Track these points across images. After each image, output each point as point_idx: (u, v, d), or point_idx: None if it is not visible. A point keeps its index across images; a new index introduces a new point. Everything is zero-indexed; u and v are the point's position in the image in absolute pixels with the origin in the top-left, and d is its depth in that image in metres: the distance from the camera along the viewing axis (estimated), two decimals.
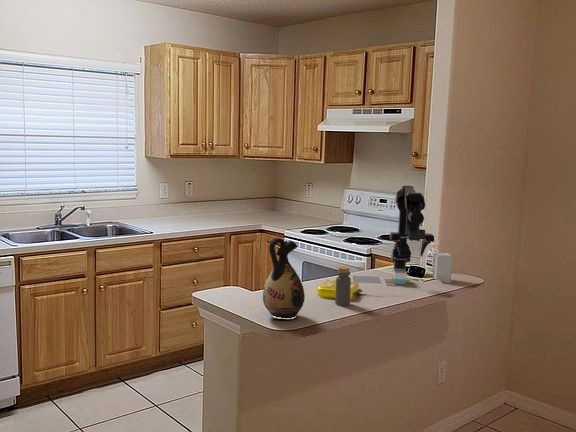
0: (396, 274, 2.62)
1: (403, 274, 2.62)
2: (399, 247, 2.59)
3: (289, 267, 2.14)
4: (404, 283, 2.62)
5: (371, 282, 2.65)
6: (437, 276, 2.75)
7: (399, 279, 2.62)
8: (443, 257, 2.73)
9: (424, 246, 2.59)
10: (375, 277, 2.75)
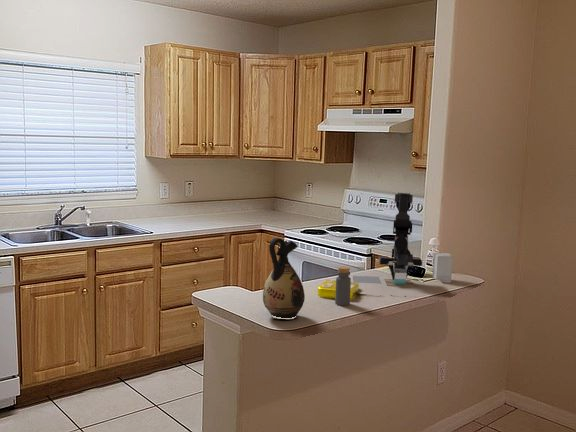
0: (396, 274, 2.62)
1: (403, 274, 2.62)
2: (392, 271, 2.64)
3: (289, 267, 2.14)
4: (404, 283, 2.62)
5: (371, 282, 2.65)
6: (437, 276, 2.75)
7: (399, 279, 2.62)
8: (443, 257, 2.73)
9: (408, 270, 2.64)
10: (375, 277, 2.75)
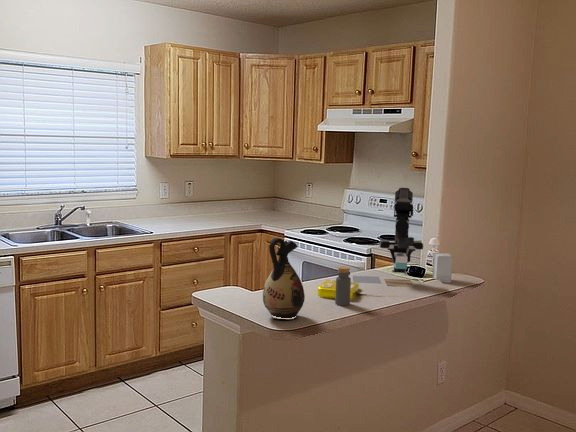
0: (397, 257, 2.60)
1: (404, 258, 2.60)
2: (393, 255, 2.63)
3: (289, 267, 2.14)
4: (405, 267, 2.61)
5: (371, 282, 2.65)
6: (437, 276, 2.75)
7: (400, 263, 2.61)
8: (443, 257, 2.73)
9: (409, 253, 2.63)
10: (375, 277, 2.75)
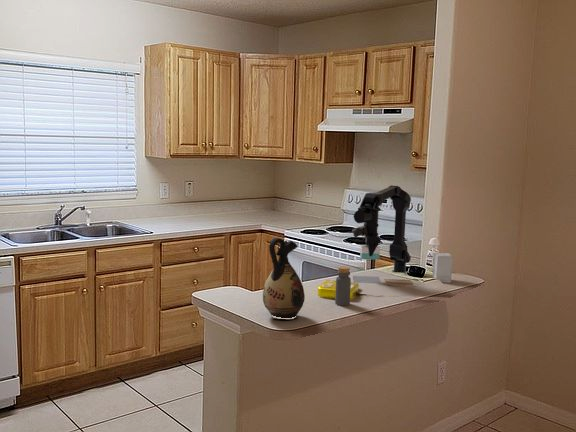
0: None
1: (361, 247, 2.67)
2: (366, 244, 2.71)
3: (289, 267, 2.14)
4: (361, 257, 2.67)
5: (371, 282, 2.65)
6: (437, 276, 2.75)
7: (360, 252, 2.69)
8: (443, 257, 2.73)
9: (368, 245, 2.64)
10: (375, 277, 2.75)
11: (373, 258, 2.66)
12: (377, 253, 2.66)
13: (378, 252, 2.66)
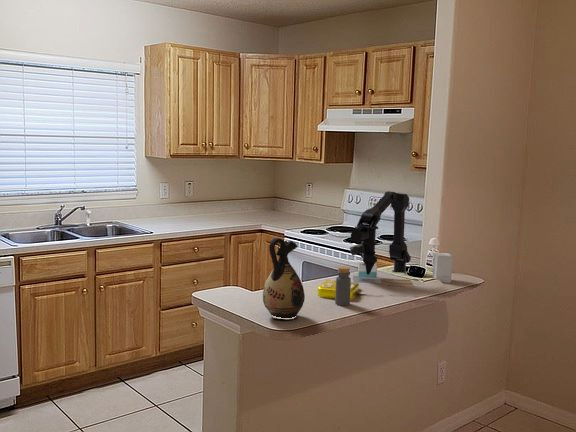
0: (358, 264, 2.72)
1: (359, 266, 2.69)
2: None
3: (289, 267, 2.14)
4: (358, 275, 2.69)
5: (371, 282, 2.65)
6: (437, 276, 2.75)
7: (358, 270, 2.71)
8: (443, 257, 2.73)
9: (365, 264, 2.66)
10: None
11: (370, 277, 2.68)
12: (374, 271, 2.68)
13: (375, 270, 2.67)
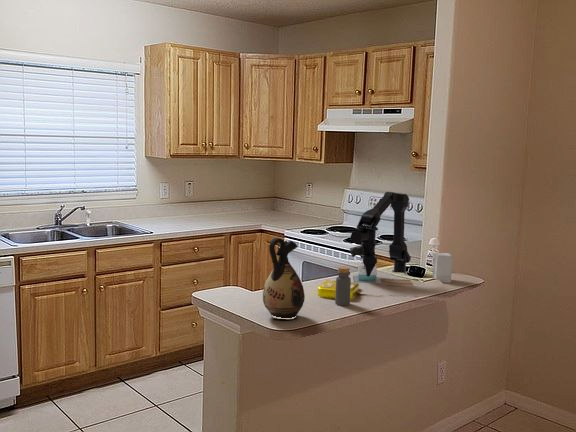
0: (358, 267, 2.72)
1: (358, 269, 2.69)
2: None
3: (289, 267, 2.14)
4: (358, 278, 2.69)
5: (371, 282, 2.65)
6: (437, 276, 2.75)
7: (358, 273, 2.71)
8: (443, 257, 2.73)
9: None
10: None
11: (370, 280, 2.68)
12: (374, 275, 2.68)
13: (375, 274, 2.68)
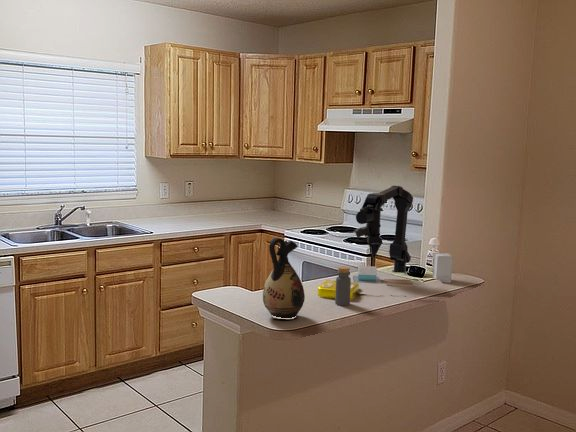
0: (358, 267, 2.72)
1: (358, 269, 2.69)
2: (369, 244, 2.76)
3: (289, 267, 2.14)
4: (358, 278, 2.69)
5: (371, 282, 2.65)
6: (437, 276, 2.75)
7: (358, 273, 2.71)
8: (443, 257, 2.73)
9: (370, 247, 2.65)
10: None
11: (370, 280, 2.68)
12: (374, 275, 2.68)
13: (375, 274, 2.68)
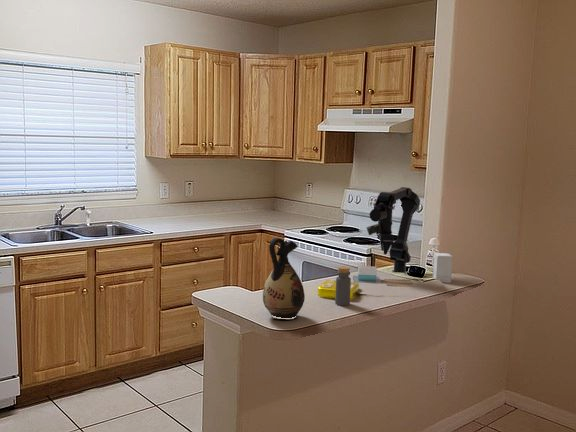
0: (358, 267, 2.72)
1: (358, 269, 2.69)
2: (380, 241, 2.80)
3: (289, 267, 2.14)
4: (358, 278, 2.69)
5: (371, 282, 2.65)
6: (437, 276, 2.75)
7: (358, 273, 2.71)
8: (443, 257, 2.73)
9: (382, 244, 2.70)
10: None
11: (370, 280, 2.68)
12: (374, 275, 2.68)
13: (375, 274, 2.68)
